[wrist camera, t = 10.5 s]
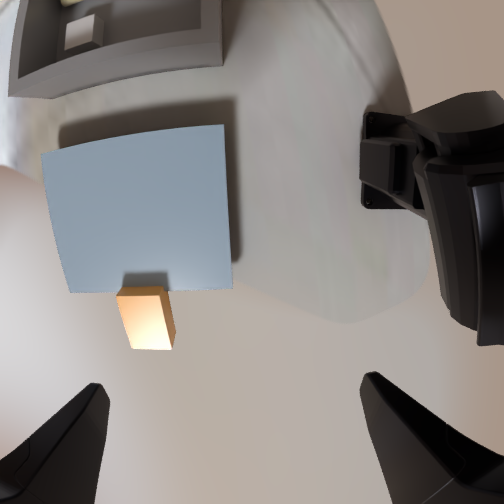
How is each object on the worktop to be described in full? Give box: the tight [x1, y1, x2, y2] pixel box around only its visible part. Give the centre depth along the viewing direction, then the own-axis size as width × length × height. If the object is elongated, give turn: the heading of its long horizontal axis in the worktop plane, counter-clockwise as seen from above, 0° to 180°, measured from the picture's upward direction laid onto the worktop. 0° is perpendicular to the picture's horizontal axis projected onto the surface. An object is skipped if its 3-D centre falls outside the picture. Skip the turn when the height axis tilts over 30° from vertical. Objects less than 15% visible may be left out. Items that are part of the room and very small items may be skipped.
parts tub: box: [8, 0, 223, 99], centre depth 10 cm, size 12×10×5 cm
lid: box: [41, 124, 233, 349], centre depth 18 cm, size 12×14×3 cm
